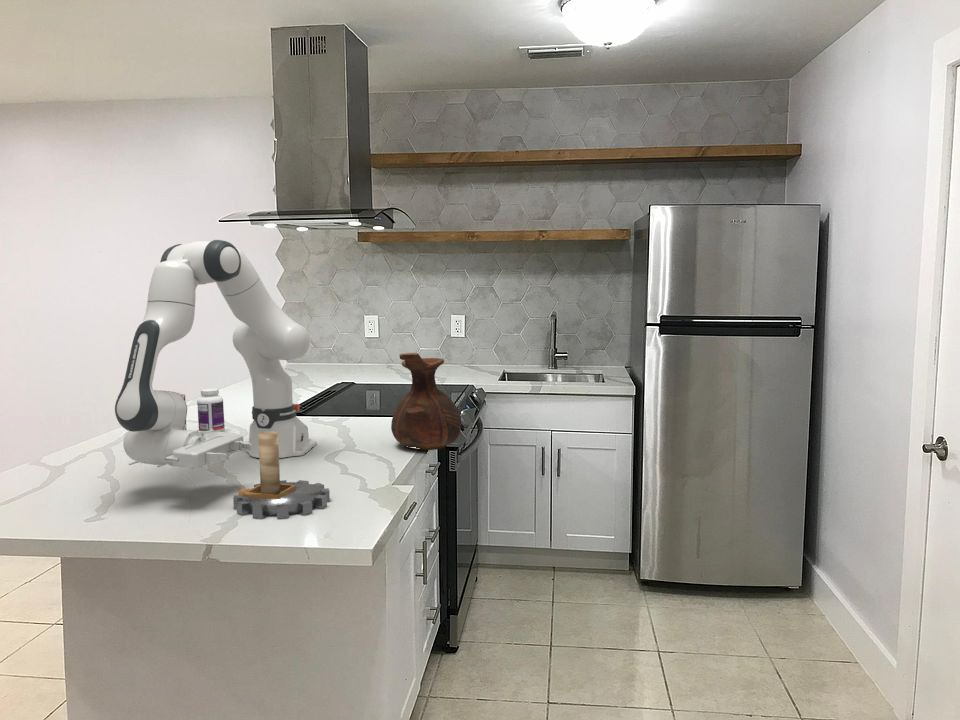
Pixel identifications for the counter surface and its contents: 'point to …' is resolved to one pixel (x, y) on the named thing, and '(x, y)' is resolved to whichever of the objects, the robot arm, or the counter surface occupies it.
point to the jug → (425, 408)
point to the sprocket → (282, 500)
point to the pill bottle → (211, 410)
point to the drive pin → (269, 463)
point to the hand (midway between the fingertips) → (239, 452)
